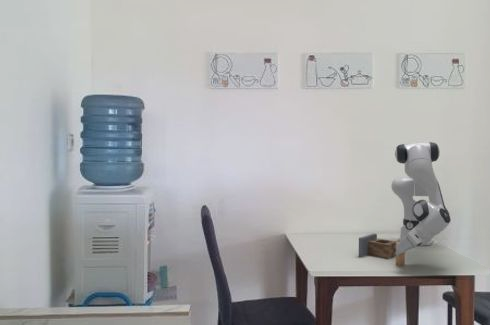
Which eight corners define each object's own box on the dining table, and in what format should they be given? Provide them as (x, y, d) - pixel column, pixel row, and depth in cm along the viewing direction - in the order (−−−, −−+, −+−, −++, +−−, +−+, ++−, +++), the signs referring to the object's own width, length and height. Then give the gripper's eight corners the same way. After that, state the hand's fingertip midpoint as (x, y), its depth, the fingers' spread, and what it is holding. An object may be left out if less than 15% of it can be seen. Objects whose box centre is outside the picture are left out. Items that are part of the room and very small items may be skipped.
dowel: (397, 263, 210) (398, 241, 210) (405, 265, 207) (406, 242, 207) (394, 265, 207) (394, 242, 207) (402, 267, 205) (402, 244, 204)
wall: (373, 251, 234) (373, 233, 234) (376, 252, 233) (376, 233, 232) (358, 257, 222) (358, 237, 222) (362, 257, 221) (362, 238, 221)
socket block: (377, 251, 234) (378, 238, 234) (397, 254, 226) (397, 241, 226) (368, 254, 226) (368, 241, 226) (388, 258, 218) (388, 245, 218)
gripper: (423, 227, 210) (403, 244, 217) (406, 233, 195) (385, 251, 202) (433, 237, 207) (412, 254, 214) (416, 244, 192) (394, 262, 199)
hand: (399, 253), depth 208 cm, fingers closed on dowel, 4 cm apart
